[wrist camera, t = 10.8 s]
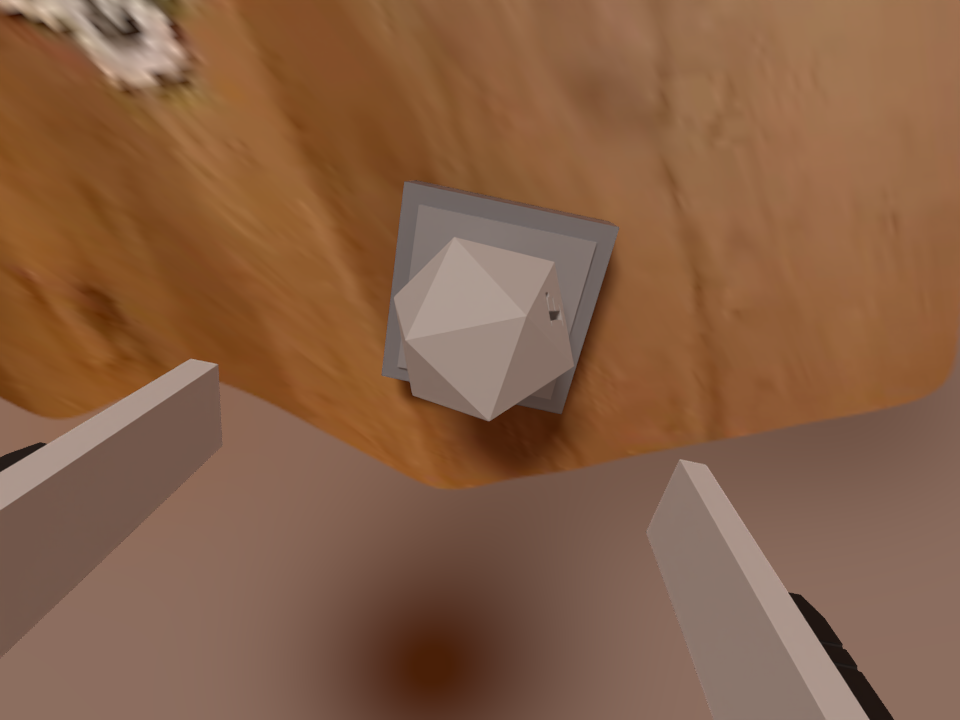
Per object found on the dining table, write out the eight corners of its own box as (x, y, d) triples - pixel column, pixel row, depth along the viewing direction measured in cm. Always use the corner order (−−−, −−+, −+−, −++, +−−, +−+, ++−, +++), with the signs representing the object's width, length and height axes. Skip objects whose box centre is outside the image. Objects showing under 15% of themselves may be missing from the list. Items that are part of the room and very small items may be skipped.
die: (527, 393, 29) (631, 395, 20) (392, 425, 26) (442, 445, 17) (502, 265, 29) (596, 207, 20) (364, 280, 26) (399, 219, 17)
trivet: (393, 357, 32) (380, 377, 29) (416, 180, 27) (403, 181, 24) (558, 393, 32) (561, 416, 29) (609, 221, 27) (620, 227, 24)
